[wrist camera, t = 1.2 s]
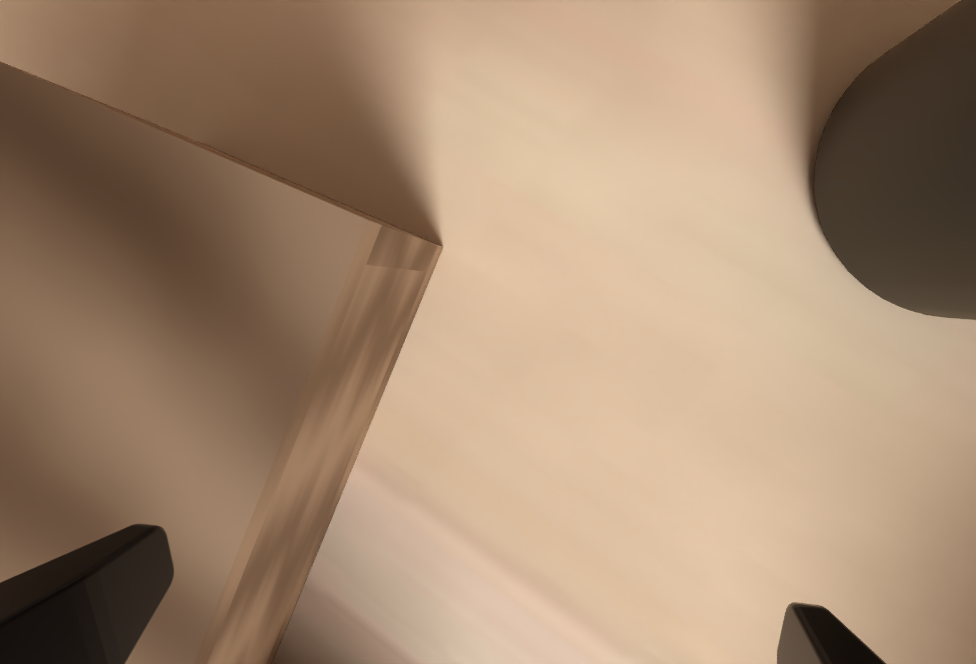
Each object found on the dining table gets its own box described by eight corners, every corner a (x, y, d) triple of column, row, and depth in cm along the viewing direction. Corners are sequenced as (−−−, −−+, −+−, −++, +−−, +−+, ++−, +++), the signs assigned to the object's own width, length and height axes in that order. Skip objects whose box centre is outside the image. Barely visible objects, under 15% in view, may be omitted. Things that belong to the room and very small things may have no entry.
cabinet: (252, 709, 24) (77, 957, 15) (37, 602, 25) (-251, 780, 16) (443, 247, 22) (369, 220, 13) (201, 143, 23) (-27, 50, 14)
